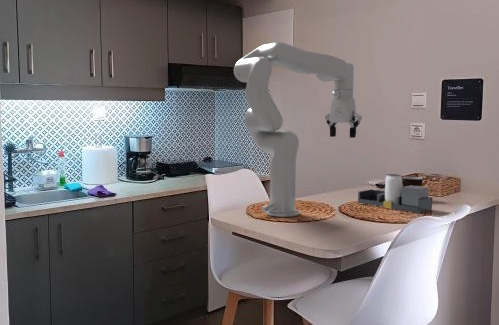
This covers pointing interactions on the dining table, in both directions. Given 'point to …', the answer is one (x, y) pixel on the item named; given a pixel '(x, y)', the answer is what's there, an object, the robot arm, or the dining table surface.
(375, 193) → the rack
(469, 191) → the dining table surface
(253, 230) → the dining table surface
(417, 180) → the coffee mug
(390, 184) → the can
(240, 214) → the dining table surface
